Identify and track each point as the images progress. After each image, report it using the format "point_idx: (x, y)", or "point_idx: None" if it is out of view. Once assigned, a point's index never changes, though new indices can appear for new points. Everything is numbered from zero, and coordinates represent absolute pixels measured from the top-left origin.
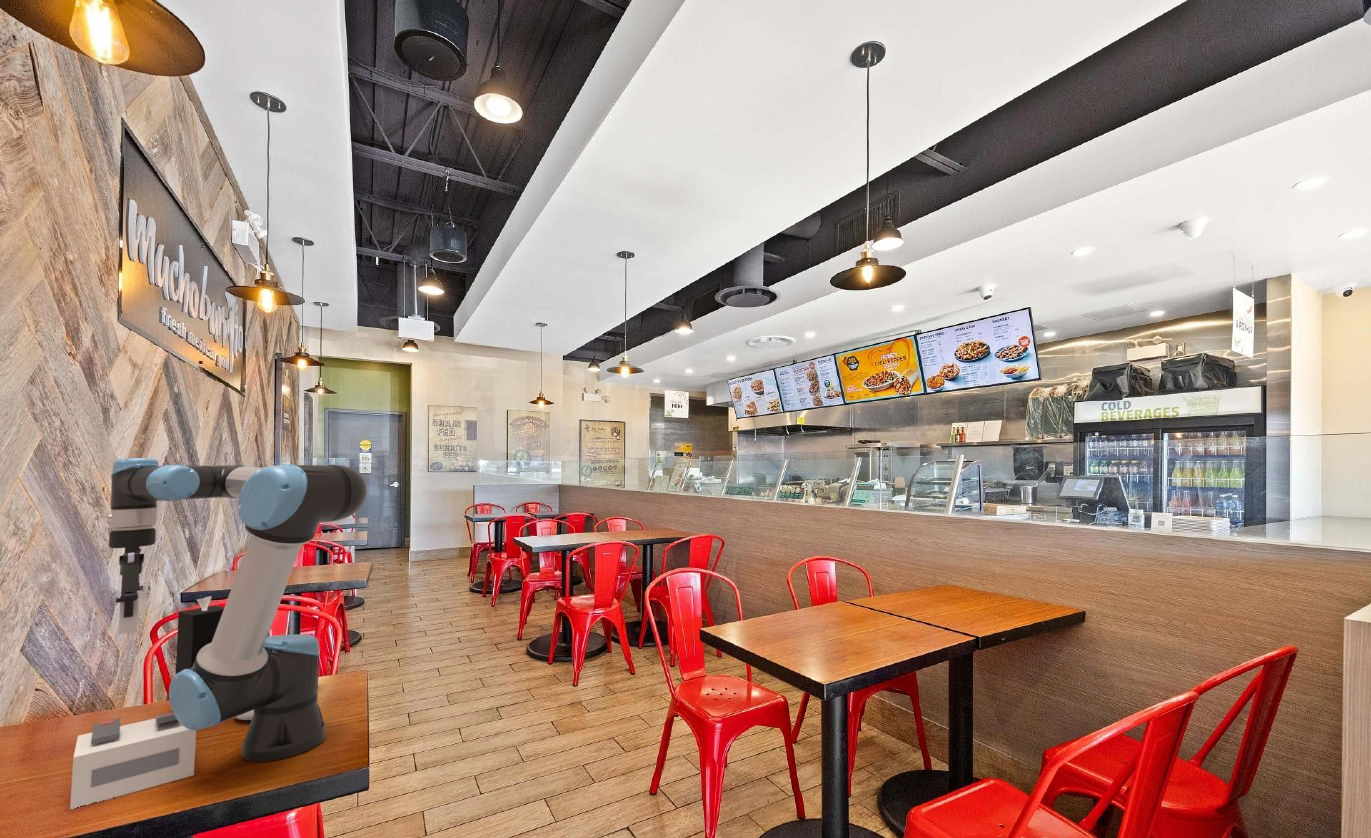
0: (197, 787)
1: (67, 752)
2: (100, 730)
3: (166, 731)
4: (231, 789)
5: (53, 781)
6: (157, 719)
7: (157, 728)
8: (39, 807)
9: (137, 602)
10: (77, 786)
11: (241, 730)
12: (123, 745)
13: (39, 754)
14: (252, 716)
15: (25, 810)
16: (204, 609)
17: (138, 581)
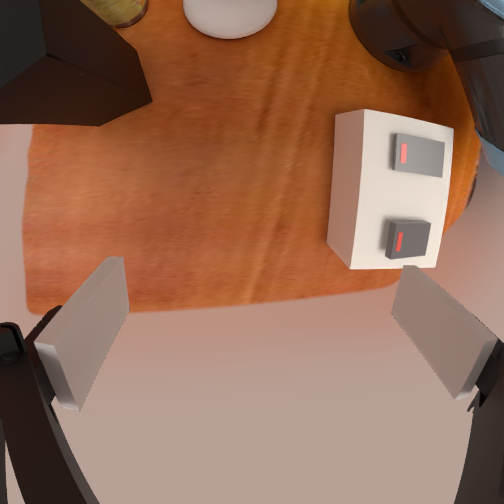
0: None
1: (176, 257)
2: (412, 247)
3: None
4: (471, 112)
5: (291, 264)
6: (441, 176)
7: None
8: (366, 270)
9: (490, 332)
10: None
11: (286, 39)
12: (444, 216)
13: (157, 286)
14: (271, 18)
15: (362, 281)
16: None
17: (51, 424)
